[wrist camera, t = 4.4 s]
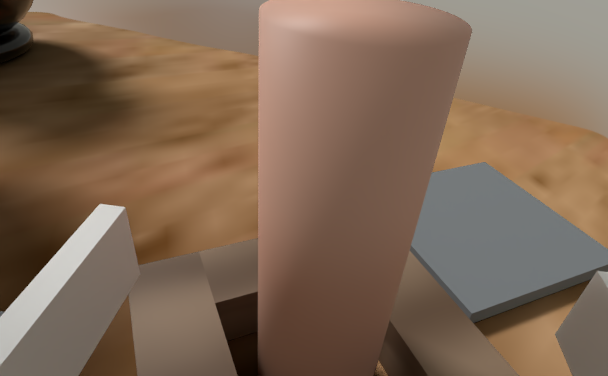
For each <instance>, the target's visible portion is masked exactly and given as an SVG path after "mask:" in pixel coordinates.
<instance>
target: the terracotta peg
mask: <svg viewBox="0 0 608 376" xmlns="http://www.w3.org/2000/svg"><path fill="white" fill-rule="evenodd" d="M471 33H472V29H471V27H470V25H469V24H468V23H467V22H465V21H463V20H462V19H461V18H459V17H457V16H455V15H452V14H450V13H447V12H445V11H442V10H439V9H435V8H432V7H428V6H424V5H420V4H416V3H411V2H406V1H400V0H269V1H267V2H265V3H263V4H262V5H261V6H260V8H259V145H258V376H374V373H375V370H376V366H377V363H378V359H379V356H380V352H381V349H382V345H383V342H384V338H385V335H386V331H387V328H388V324H389V321H390V317H391V314H392V310H393V307H394V303H395V300H396V296H397V293H398V289H399V286H400V282H401V279H402V275H403V272H404V268H405V265H406V261H407V258H408V254H409V251H410V247H411V244H412V240H413V237H414V233H415V230H416V226H417V223H418V219H419V216H420V212H421V209H422V205H423V202H424V198H425V194H426V191H427V187H428V184H429V180H430V177H431V173H432V170H433V166H434V163H435V159H436V156H437V152H438V149H439V145H440V142H441V138H442V135H443V131H444V128H445V124H446V121H447V117H448V114H449V110H450V107H451V103H452V100H453V96H454V93H455V89H456V86H457V82H458V79H459V75H460V72H461V68H462V65H463V61H464V58H465V54H466V51H467V47H468V44H469V40H470V37H471Z"/></svg>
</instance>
